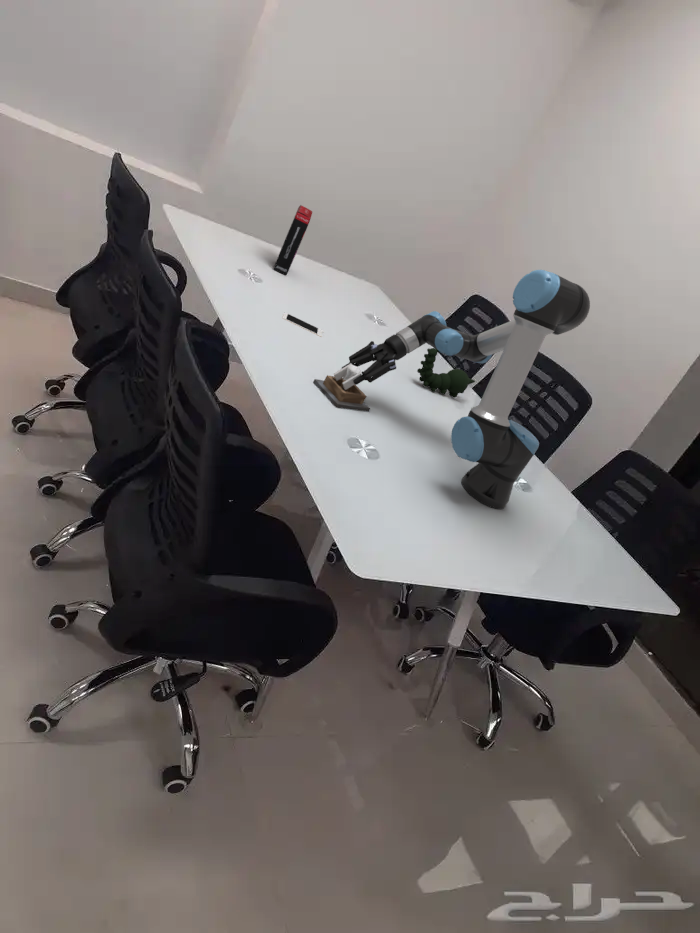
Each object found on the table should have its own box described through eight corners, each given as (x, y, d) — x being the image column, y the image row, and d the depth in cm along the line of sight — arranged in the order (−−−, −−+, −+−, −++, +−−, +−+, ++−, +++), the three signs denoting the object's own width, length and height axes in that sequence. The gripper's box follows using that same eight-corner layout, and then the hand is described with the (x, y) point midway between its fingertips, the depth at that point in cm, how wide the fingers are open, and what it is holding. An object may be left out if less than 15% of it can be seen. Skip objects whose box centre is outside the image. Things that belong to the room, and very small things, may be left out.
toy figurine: (416, 392, 270) (470, 405, 281) (437, 348, 261) (492, 363, 272) (407, 380, 277) (460, 393, 288) (428, 337, 268) (482, 352, 279)
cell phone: (321, 338, 267) (322, 336, 267) (281, 319, 264) (282, 317, 264) (322, 331, 274) (323, 330, 274) (283, 313, 271) (284, 311, 271)
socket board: (368, 411, 227) (374, 400, 225) (335, 407, 217) (341, 395, 216) (345, 387, 235) (351, 376, 234) (313, 382, 226) (318, 370, 224)
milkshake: (350, 398, 224) (364, 371, 219) (335, 390, 223) (349, 363, 219) (352, 394, 228) (367, 367, 223) (338, 385, 228) (352, 359, 223)
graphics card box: (286, 276, 314) (312, 218, 302) (271, 269, 312) (297, 210, 300) (289, 267, 329) (314, 211, 317) (275, 260, 327) (299, 204, 315)
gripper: (418, 367, 224) (356, 405, 219) (387, 338, 234) (327, 375, 230) (415, 350, 218) (351, 389, 213) (383, 321, 228) (322, 358, 224)
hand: (339, 381), depth 222 cm, fingers closed on milkshake, 4 cm apart
